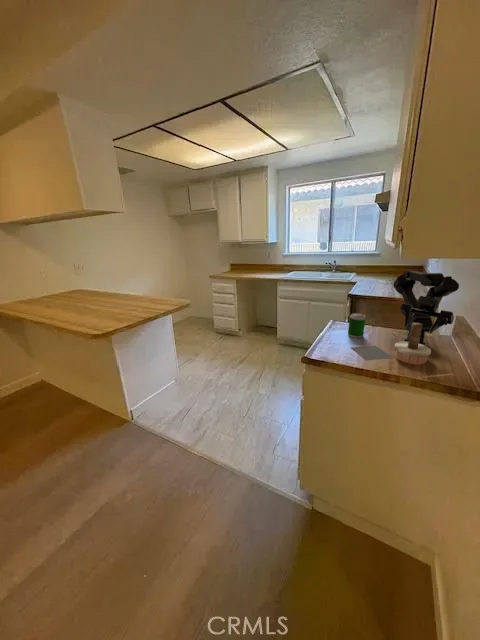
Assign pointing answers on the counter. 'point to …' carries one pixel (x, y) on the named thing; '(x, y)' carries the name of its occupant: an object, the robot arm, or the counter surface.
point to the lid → (413, 343)
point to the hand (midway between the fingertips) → (417, 329)
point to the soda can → (356, 325)
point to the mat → (371, 352)
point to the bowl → (410, 358)
